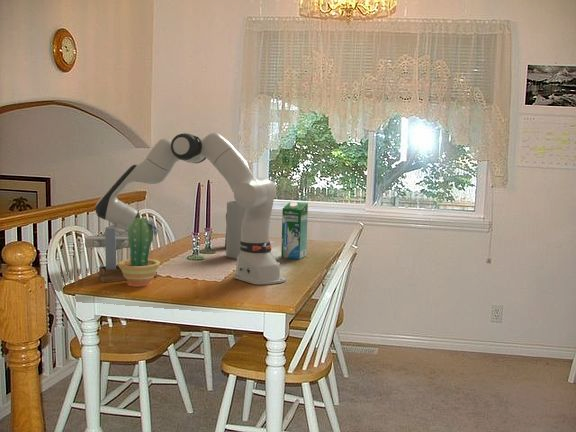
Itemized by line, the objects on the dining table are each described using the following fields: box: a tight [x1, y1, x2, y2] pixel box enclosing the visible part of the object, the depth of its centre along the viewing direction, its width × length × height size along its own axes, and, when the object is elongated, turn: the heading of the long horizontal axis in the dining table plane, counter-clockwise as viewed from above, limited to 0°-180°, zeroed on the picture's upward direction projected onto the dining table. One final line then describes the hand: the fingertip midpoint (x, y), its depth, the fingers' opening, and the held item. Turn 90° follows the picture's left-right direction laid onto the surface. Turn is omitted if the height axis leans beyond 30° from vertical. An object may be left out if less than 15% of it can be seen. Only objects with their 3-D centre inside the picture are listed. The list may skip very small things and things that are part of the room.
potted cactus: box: [117, 216, 161, 288], centre depth 247 cm, size 15×15×25 cm
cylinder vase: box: [225, 200, 246, 260], centre depth 303 cm, size 12×12×25 cm
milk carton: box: [280, 201, 309, 260], centre depth 306 cm, size 9×9×25 cm
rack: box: [97, 264, 158, 283], centre depth 257 cm, size 7×21×4 cm, turn 120°
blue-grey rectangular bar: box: [104, 226, 117, 270], centre depth 253 cm, size 4×4×18 cm
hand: (110, 245), depth 252 cm, fingers open, 8 cm apart
